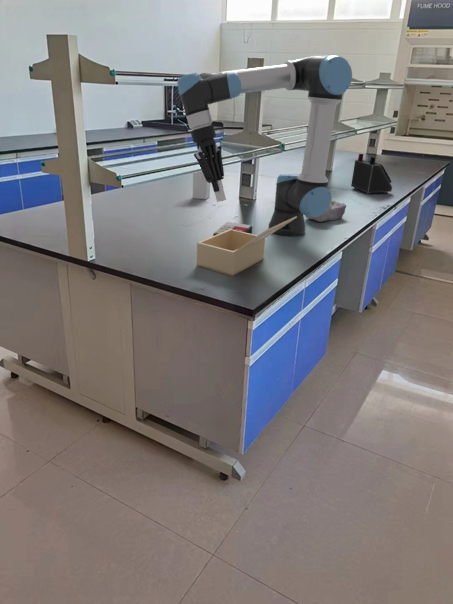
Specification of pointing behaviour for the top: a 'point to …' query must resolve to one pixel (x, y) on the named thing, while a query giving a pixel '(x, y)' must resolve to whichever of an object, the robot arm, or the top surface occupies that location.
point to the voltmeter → (370, 176)
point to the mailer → (229, 252)
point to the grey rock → (331, 212)
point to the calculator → (234, 228)
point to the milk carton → (200, 186)
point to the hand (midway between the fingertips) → (221, 200)
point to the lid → (265, 234)
